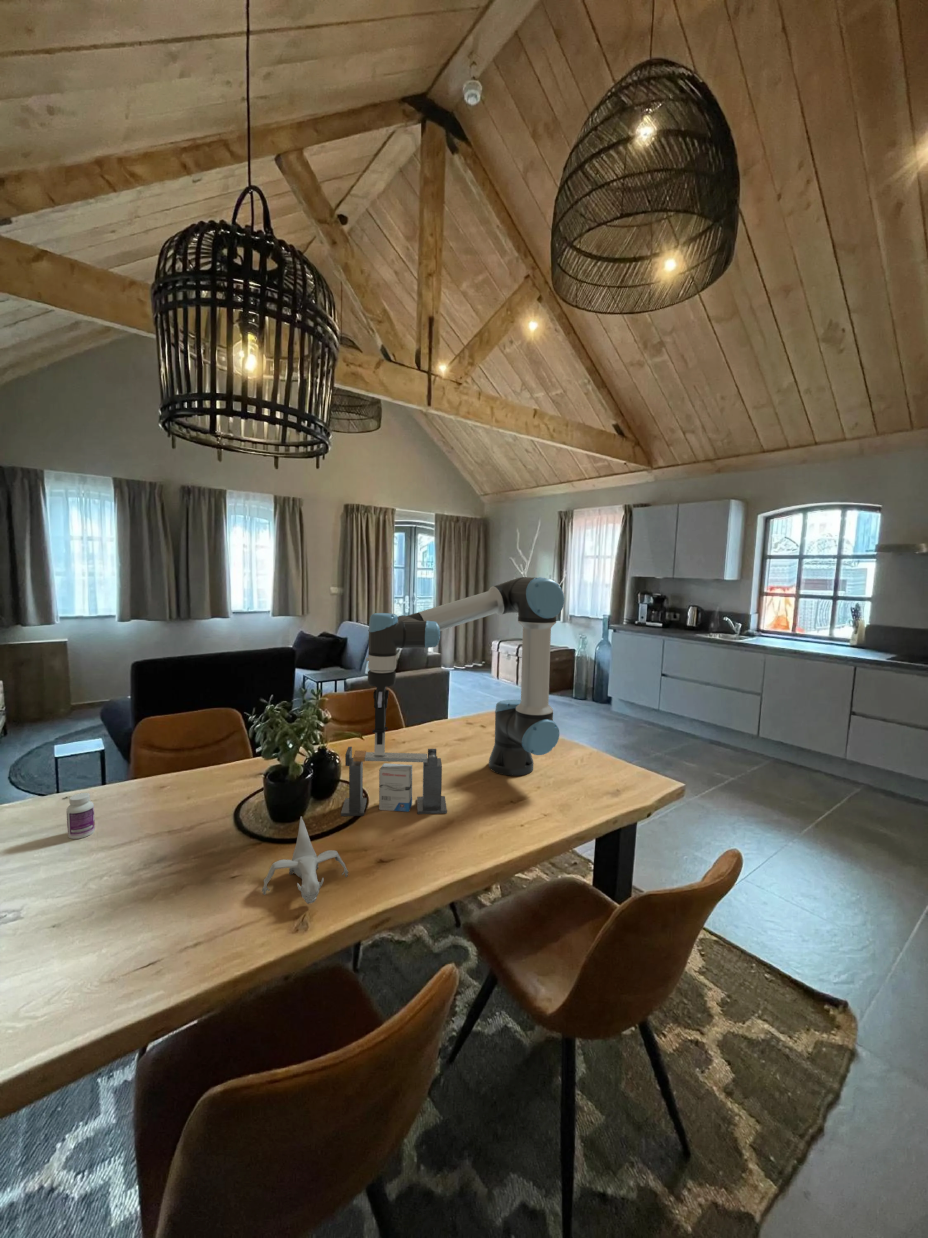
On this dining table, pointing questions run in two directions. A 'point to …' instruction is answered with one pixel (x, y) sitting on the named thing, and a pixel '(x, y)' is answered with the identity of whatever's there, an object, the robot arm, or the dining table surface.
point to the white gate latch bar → (391, 757)
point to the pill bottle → (80, 816)
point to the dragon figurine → (305, 865)
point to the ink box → (395, 787)
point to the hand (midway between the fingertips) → (379, 754)
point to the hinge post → (432, 787)
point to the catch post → (354, 788)
